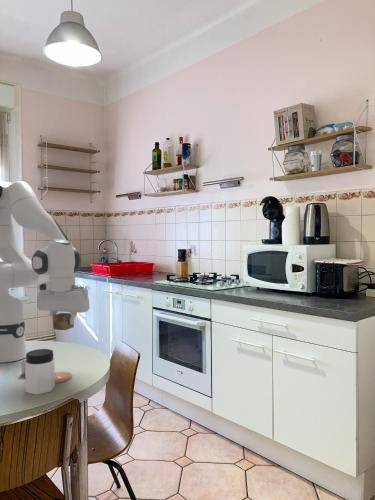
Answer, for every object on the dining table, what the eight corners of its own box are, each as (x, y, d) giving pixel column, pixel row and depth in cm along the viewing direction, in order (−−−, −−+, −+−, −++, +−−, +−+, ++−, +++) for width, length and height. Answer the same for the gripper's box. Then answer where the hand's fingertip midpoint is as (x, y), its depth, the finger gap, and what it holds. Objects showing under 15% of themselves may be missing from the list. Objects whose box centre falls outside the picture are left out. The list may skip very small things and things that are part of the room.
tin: (18, 375, 144) (18, 362, 144) (28, 371, 149) (28, 358, 148) (29, 377, 142) (28, 364, 142) (38, 372, 147) (38, 360, 147)
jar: (49, 394, 126) (48, 356, 126) (22, 395, 126) (21, 356, 126) (57, 384, 135) (56, 348, 135) (32, 384, 135) (31, 348, 134)
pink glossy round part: (38, 381, 138) (38, 378, 138) (56, 372, 146) (56, 370, 146) (60, 384, 135) (60, 382, 135) (77, 375, 143) (77, 373, 143)
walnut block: (53, 329, 145) (52, 315, 145) (62, 326, 149) (62, 312, 149) (65, 330, 143) (64, 315, 143) (73, 327, 148) (73, 313, 148)
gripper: (92, 284, 145) (93, 323, 145) (45, 283, 152) (46, 320, 153) (81, 286, 139) (82, 327, 139) (33, 285, 146) (34, 323, 147)
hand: (63, 323), depth 146 cm, fingers closed on walnut block, 5 cm apart
